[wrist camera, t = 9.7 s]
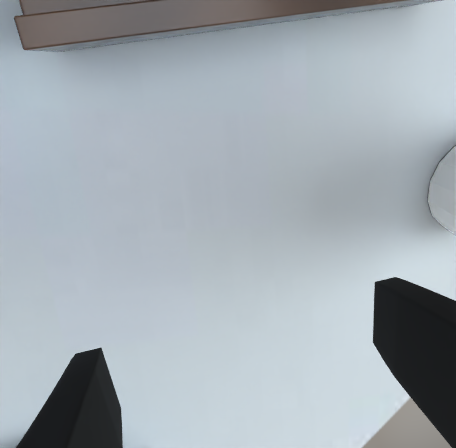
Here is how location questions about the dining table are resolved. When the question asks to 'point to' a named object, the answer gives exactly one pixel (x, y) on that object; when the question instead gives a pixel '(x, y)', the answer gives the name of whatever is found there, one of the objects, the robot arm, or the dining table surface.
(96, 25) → the shelf
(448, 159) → the white cup
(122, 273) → the dining table surface
